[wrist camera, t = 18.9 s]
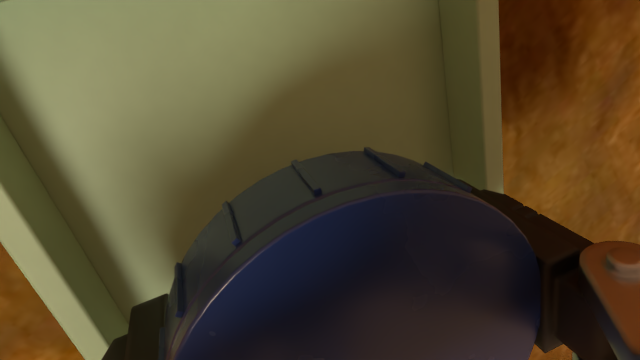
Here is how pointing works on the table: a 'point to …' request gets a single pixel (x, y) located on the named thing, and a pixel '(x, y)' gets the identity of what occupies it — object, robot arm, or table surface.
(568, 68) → the table surface
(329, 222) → the lid
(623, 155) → the table surface
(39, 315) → the table surface
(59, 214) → the tray
